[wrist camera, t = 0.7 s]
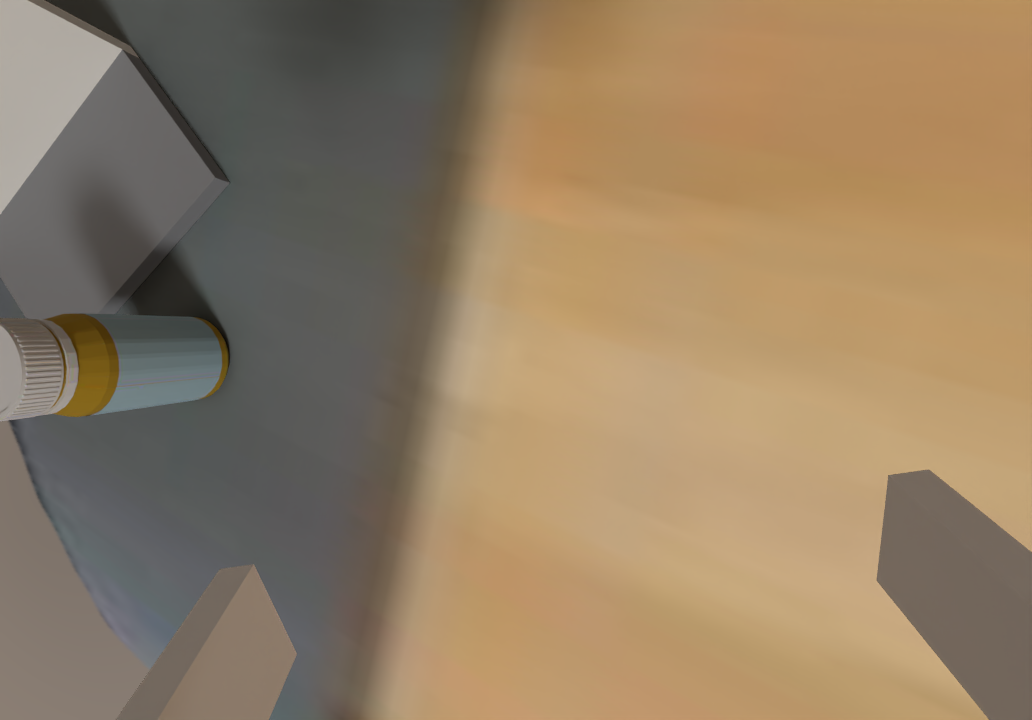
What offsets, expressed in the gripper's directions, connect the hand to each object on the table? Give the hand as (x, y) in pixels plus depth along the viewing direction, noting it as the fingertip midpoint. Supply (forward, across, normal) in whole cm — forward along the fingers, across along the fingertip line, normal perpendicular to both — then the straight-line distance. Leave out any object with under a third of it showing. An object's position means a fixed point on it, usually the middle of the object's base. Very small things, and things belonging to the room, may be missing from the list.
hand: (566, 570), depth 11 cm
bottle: (+34, -29, -4) cm, 45 cm away
